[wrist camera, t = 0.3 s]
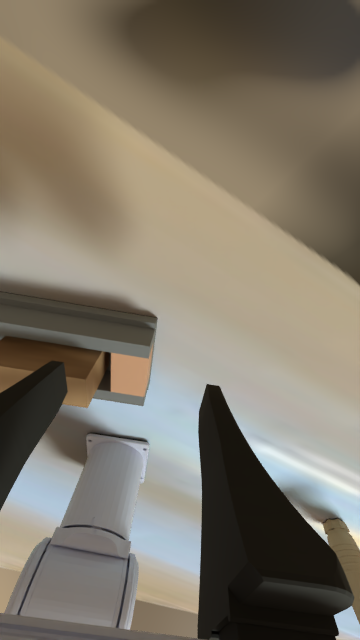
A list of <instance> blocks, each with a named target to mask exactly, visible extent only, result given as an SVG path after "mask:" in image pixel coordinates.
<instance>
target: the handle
mask: <svg viewBox="0 0 360 640" xmlns="http://www.w3.org/2000/svg"><path fill="white" fill-rule="evenodd" d="M323 526H324V530H325V533H326V534H328V537H327V538H328V543H329V546H330V547H331V548H332V549H333V551H334V552H335V553H336V555H337V557H338V559H339V561H340V563H341V565H342V568H343V570H344V572H345V574H346V577H347V579H348V582H349V585H350V587H351V590H352V592H353V595H354V597H355V598H354V601H353V604H352V607H353V609H354V612H355V614H356V616H357V619H358V621H359V624H360V550H359V548H358V546H357V545H356V543H355V541H354V539H353V538H352V536H351V535H350V534H349V533H348V532H350V531H349V529H348V527H347V526H346V524H345V522H343V521H341V520H340V519H333V520H331V519H328V520H326V522H325V523H324V524H323Z"/></svg>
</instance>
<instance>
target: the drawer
mask: <svg viewBox="0 0 360 640" xmlns="http://www.w3.org/2000/svg"><path fill="white" fill-rule="evenodd" d="M52 360H53V361H59V362H64V366H65V374H66V382H67V390H68V392H67V394H66V396H65V399H64V401H63V403H62V404H66V405H72V406H79V407H85V408H88V406H89V404H90V402H91V400H92V398H93V396H94V394H95V392H96V390H97V388H98V386H99V384H100V382H101V380H102V378H103V376H104V374H105V372H106V370H107V368H108V366H109V352H104V351H98V350H92V349H86V348H79V347H73V346H67V345H61V344H55V343H49V342H42V341H36V340H30V339H24V338H18V337H12V336H5V337H4V338H2V339H1V340H0V393H1V392H3V391H4V390H6V389H8V388H9V387H11V386H12V385H14V384H16V383H17V382H19V381H20V380H22V379H24V378H25V377H27V376H28V375H30V374H31V373H33V372H34V371H36V370H37V369H39V368H41V367H42V366H44V365H45V364H47V363H48V362H50V361H52Z"/></svg>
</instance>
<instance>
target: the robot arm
mask: <svg viewBox="0 0 360 640" xmlns="http://www.w3.org/2000/svg"><path fill="white" fill-rule="evenodd" d="M67 392H68V390H67V382H66V374H65V366H64V362H59V361H53V360H52V361H50V362H48V363H47V364H45V365H44V366H42V367H41V368H39V369H37V370H36V371H34V372H33V373H31V374H30V375H28V376H27V377H25V378H24V379H22V380H20V381H19V382H17V383H16V384H14V385H12V386H11V387H9V388H8V389H6V390H4V391H3V392H1V393H0V510H1V508H2V506H3V504H4V502H5V500H6V498H7V496H8V494H9V492H10V490H11V488H12V487H13V485H14V483H15V481H16V479H17V477H18V475H19V473H20V471H21V470H22V468H23V466H24V464H25V462H26V461H27V459H28V457H29V456H30V454H31V453H32V451H33V450H34V448H35V447H36V445H37V443H38V442H39V440H40V439H41V437H42V436H43V434H44V433H45V431H46V430H47V428H48V427H49V425H50V423H51V422H52V420H53V419H54V417H55V416H56V414H57V412H58V411H59V409H60V407H61V405H62V403H63V401H64V399H65V396H66V394H67ZM198 433H199V448H200V462H201V476H202V531H201V565H200V590H199V612H198V639H197V638H188V637H181V636H173V635H166V634H158V633H150V632H143V631H135V630H130V626H131V621H132V616H133V611H134V605H135V599H136V591H137V583H138V571H139V567H138V562H137V560H136V557H135V554H132V553H129V552H130V546H131V541H129V536H130V531H131V526H132V521H133V515H134V510H135V505H136V500H137V495H138V489H139V484H140V483H143V482H144V478H145V471H146V465H147V458H148V451H149V443H148V442H143V441H136V440H130V439H123V438H117V437H110V436H104V435H97V434H87V436H86V444H87V457H88V459H87V461H86V464H85V466H84V468H83V471H82V473H81V476H80V478H79V481H78V483H77V486H76V488H75V491H74V493H73V496H72V498H71V501H70V503H69V506H68V508H67V510H66V513H65V515H64V518H63V520H62V523H61V525H60V527H57V528H56V529H55V532H54V534H53V537H52V538H48V537H46V538H45V539H43V541H42V542H40V543H39V544H38V545H36V547H35V548H34V549H33V551H32V553H31V554H30V556H29V558H28V560H27V562H26V564H25V566H24V568H23V570H22V572H21V574H20V576H19V579H18V581H17V583H16V585H15V588H14V590H13V592H12V595H11V597H10V600H9V602H8V605H7V608H6V610H5V613H0V640H336V638H335V636H338V635H339V631H338V628H337V625H336V622H335V619H334V616H333V615H335V614H337V613H339V612H341V611H343V610H345V609H347V608H349V607H350V606H352V604H353V601H354V598H355V597H354V595H353V592H352V590H351V587H350V585H349V582H348V579H347V577H346V574H345V572H344V570H343V568H342V565H341V563H340V561H339V559H338V557H337V555H336V553H335V552H334V551H333V549H332V548H331V547H330V546H329V545H328V544H327V543H326V542H325V541H324V540H323V539H322V538H321V537H320V536H319V535H318V533H317V532H316V531H315V530H314V529H313V528H312V527H311V526H310V525H309V524H308V523H307V522H306V520H305V519H304V518H303V517H302V516H301V515H300V513H299V512H298V511H297V510H296V509H295V508H294V506H293V505H292V504H291V503H290V501H289V500H288V499H287V498H286V496H285V495H284V494H283V493H282V491H281V490H280V489H279V488H278V486H277V485H276V484H275V482H274V481H273V480H272V478H271V477H270V476H269V474H268V473H267V471H266V470H265V469H264V467H263V466H262V464H261V463H260V461H259V460H258V458H257V457H256V455H255V454H254V452H253V451H252V449H251V448H250V446H249V444H248V443H247V441H246V439H245V437H244V436H243V434H242V432H241V430H240V429H239V427H238V425H237V423H236V421H235V419H234V417H233V415H232V413H231V411H230V409H229V407H228V405H227V403H226V400H225V398H224V396H223V393H222V391H221V388H220V387H219V386H215V385H209V384H207V385H206V389H205V393H204V396H203V400H202V403H201V407H200V410H199V430H198Z"/></svg>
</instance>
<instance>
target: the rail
mask: <svg viewBox="0 0 360 640" xmlns="http://www.w3.org/2000/svg"><path fill="white" fill-rule="evenodd" d="M156 326H157V318H155V317H149V316H143V315H137V314H131V313H125V312H119V311H113V310H107V309H101V308H95V307H89V306H83V305H77V304H71V303H65V302H59V301H53V300H47V299H41V298H35V297H29V296H23V295H17V294H11V293H5V292H0V340H1V339H2V338H4V337H5V336H12V337H18V338H24V339H30V340H36V341H42V342H49V343H55V344H61V345H67V346H73V347H79V348H86V349H92V350H98V351H104V352H109V366H108V368H107V370H106V372H105V374H104V376H103V378H102V380H101V382H100V384H99V386H98V388H97V390H96V392H95V394H94V396H93V398H95V399H101V400H107V401H114V402H120V403H127V404H133V405H139V406H143V405H144V401H145V397H146V393H147V390H148V387H149V382H150V374H151V366H152V358H153V350H154V342H155V334H156Z"/></svg>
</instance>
